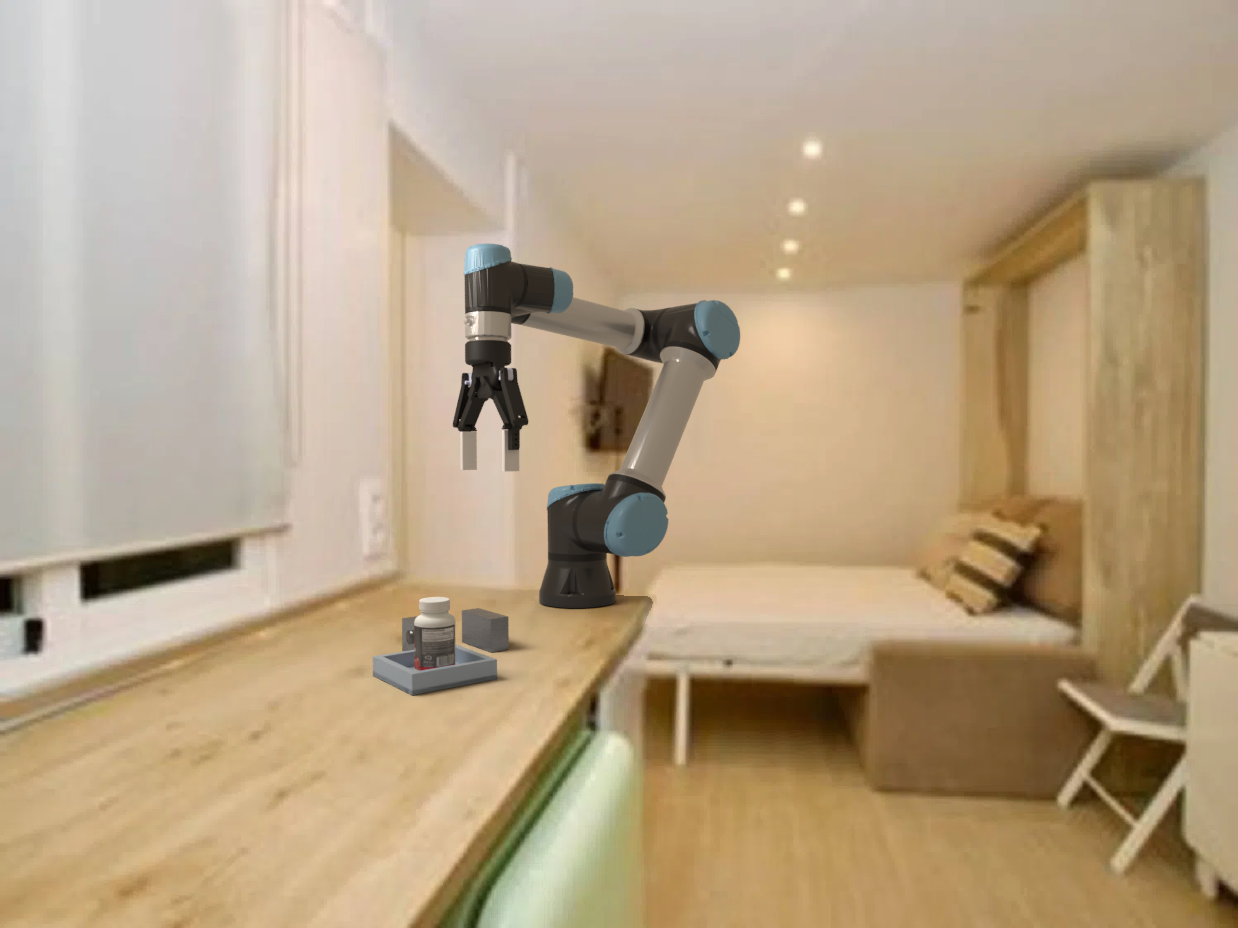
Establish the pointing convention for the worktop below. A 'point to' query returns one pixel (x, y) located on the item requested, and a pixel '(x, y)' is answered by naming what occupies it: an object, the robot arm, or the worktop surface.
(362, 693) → the worktop surface
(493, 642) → the grey twin blocks
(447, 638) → the pill bottle
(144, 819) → the worktop surface
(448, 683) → the tray
